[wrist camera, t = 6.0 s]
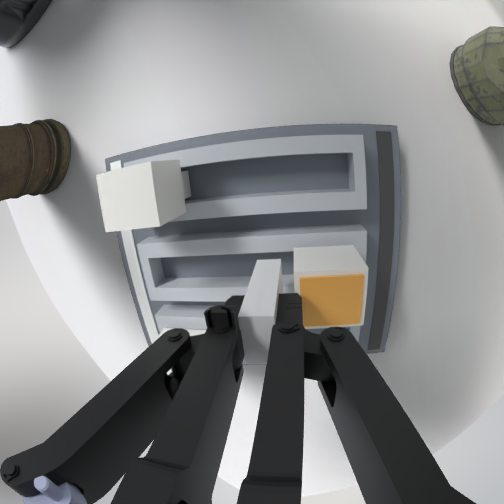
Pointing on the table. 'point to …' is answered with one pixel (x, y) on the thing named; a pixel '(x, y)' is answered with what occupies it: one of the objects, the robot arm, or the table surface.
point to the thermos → (481, 75)
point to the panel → (253, 216)
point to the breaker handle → (331, 285)
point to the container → (32, 158)
